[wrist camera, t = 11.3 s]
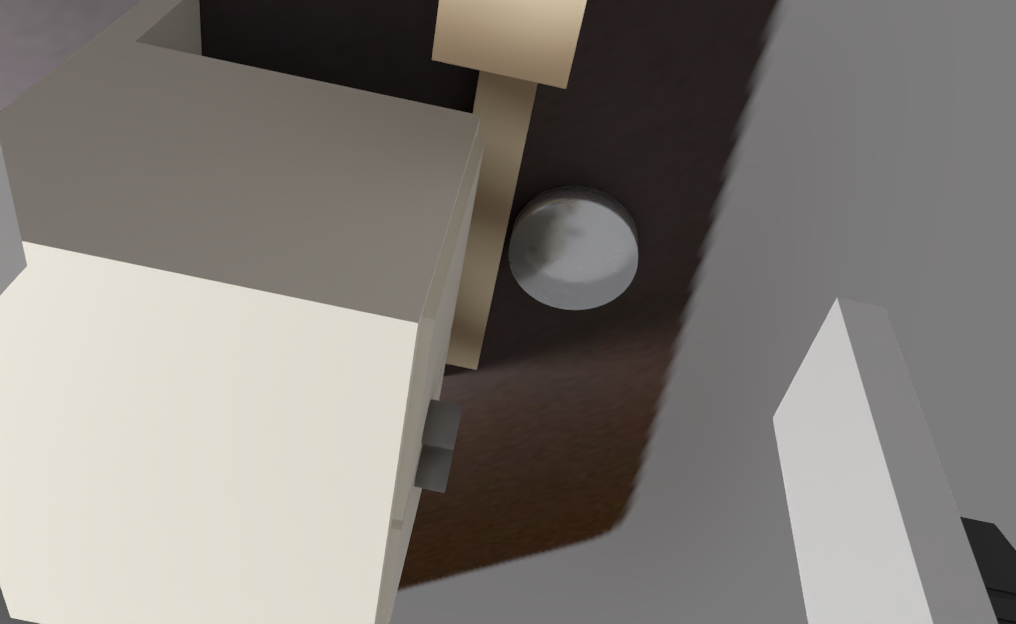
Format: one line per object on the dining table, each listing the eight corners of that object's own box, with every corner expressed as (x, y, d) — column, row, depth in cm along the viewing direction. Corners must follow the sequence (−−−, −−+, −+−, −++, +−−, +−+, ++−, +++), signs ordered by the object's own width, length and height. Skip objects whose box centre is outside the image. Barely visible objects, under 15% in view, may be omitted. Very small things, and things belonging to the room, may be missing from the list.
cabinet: (167, -21, 36) (-124, 210, 22) (535, 58, 37) (475, 335, 23) (191, 325, 48) (10, 617, 34) (469, 382, 49) (402, 695, 35)
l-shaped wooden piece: (499, -167, 32) (449, -84, 23) (608, -143, 32) (598, -51, 23) (421, 338, 47) (374, 500, 39) (495, 354, 47) (464, 519, 39)
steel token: (533, 167, 40) (529, 187, 39) (657, 205, 41) (658, 227, 39) (498, 267, 44) (493, 289, 43) (612, 301, 45) (611, 324, 43)
